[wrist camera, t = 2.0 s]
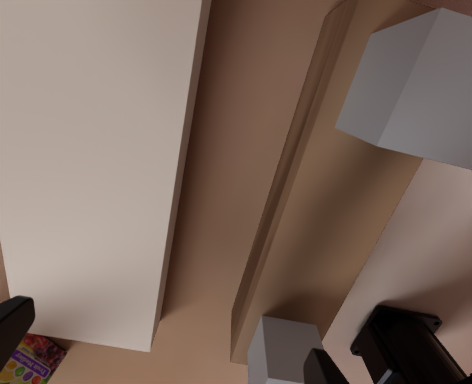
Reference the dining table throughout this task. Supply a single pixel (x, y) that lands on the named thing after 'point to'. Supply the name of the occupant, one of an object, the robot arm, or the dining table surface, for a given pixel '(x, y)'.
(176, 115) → the panel
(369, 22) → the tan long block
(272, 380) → the crate
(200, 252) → the dining table surface
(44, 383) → the snack box
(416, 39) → the crate
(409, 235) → the dining table surface
